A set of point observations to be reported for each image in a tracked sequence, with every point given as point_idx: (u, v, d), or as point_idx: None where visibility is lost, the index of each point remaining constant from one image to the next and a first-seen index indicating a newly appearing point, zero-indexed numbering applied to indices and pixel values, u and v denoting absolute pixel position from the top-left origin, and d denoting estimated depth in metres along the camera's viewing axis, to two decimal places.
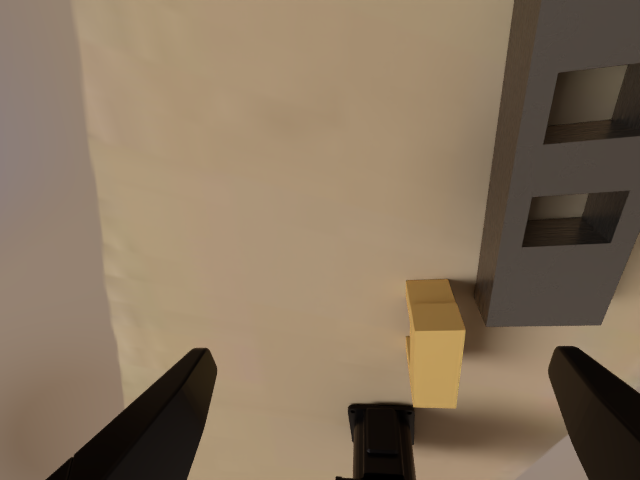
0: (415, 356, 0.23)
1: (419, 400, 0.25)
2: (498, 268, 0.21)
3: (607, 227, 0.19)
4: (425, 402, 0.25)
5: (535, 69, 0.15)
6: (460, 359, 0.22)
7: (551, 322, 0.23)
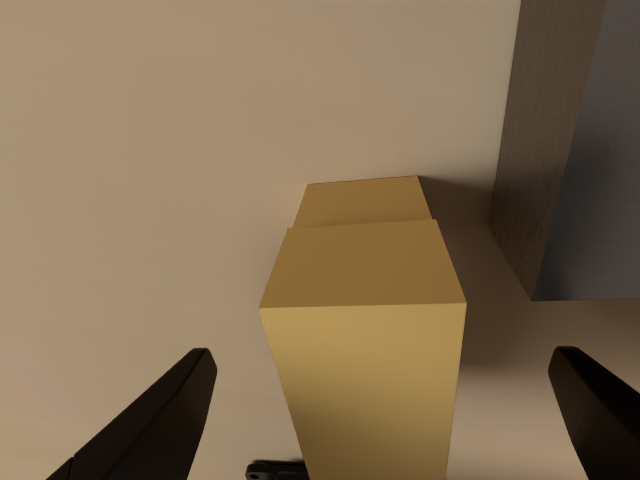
0: (290, 401, 0.06)
1: None
2: (610, 28, 0.05)
3: None
4: None
5: None
6: (447, 414, 0.06)
7: None
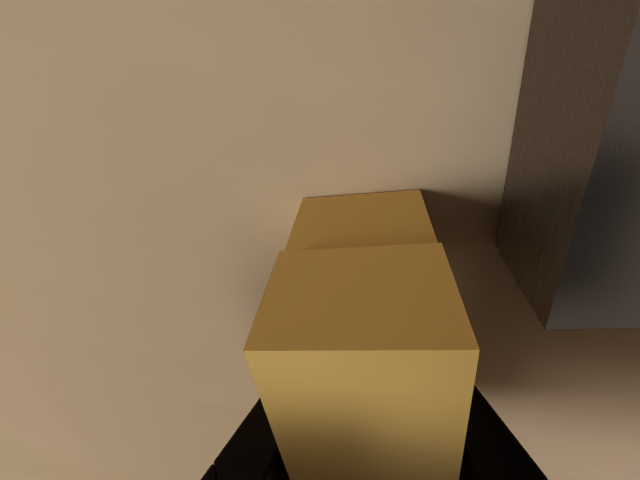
0: (281, 445, 0.06)
1: None
2: None
3: None
4: None
5: None
6: (455, 462, 0.06)
7: None
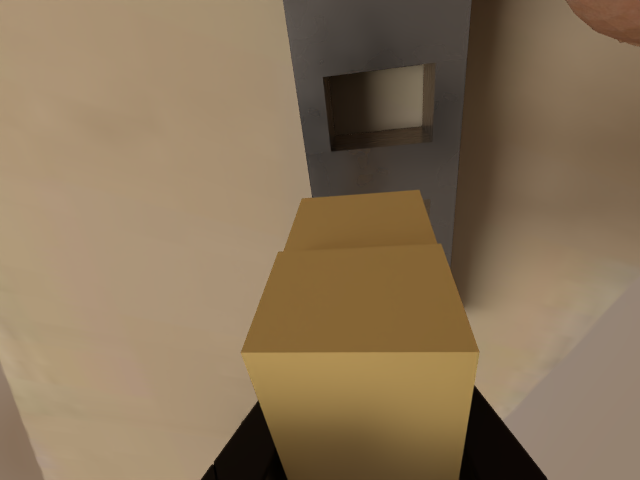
0: (280, 447, 0.06)
1: None
2: None
3: None
4: None
5: (299, 73, 0.15)
6: (454, 464, 0.06)
7: None
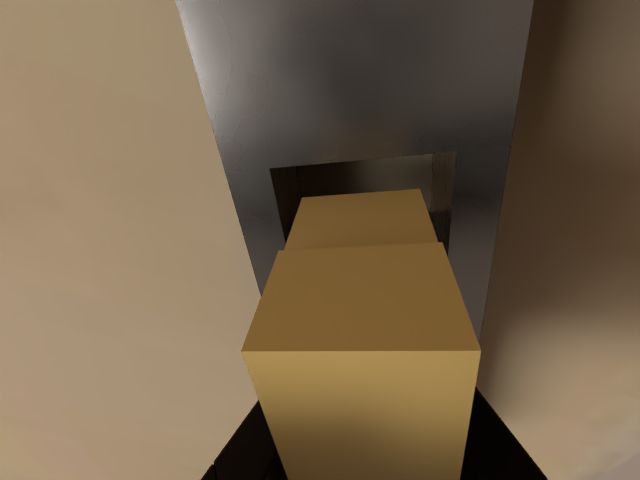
0: (280, 446, 0.06)
1: None
2: None
3: None
4: None
5: (231, 162, 0.09)
6: (456, 463, 0.05)
7: None
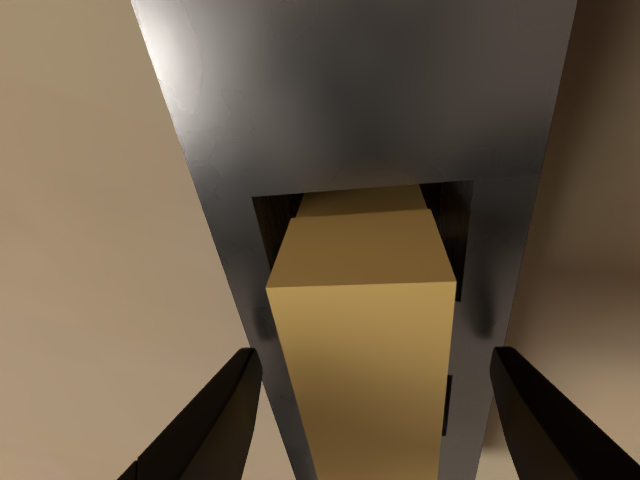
0: (294, 378, 0.07)
1: None
2: (289, 451, 0.13)
3: None
4: None
5: (207, 190, 0.08)
6: (440, 390, 0.07)
7: None
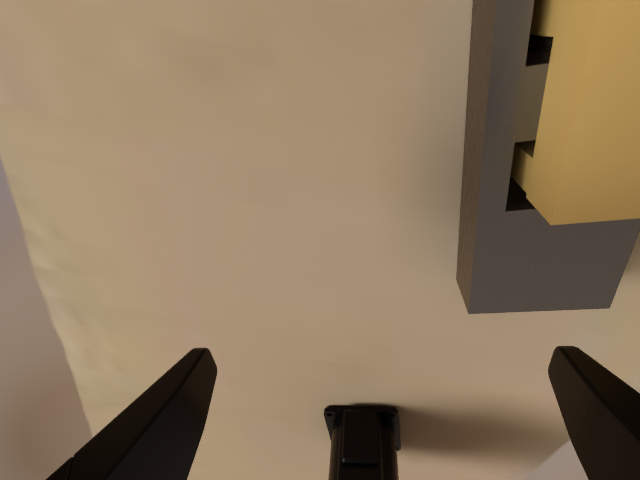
0: (589, 62, 0.10)
1: (567, 203, 0.13)
2: (478, 240, 0.17)
3: None
4: (578, 208, 0.13)
5: None
6: None
7: (548, 306, 0.18)
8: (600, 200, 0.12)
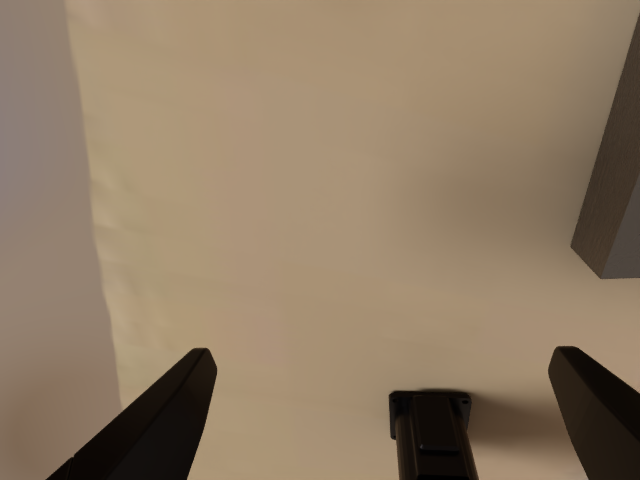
0: None
1: None
2: (637, 188, 0.15)
3: None
4: None
5: None
6: None
7: None
8: None
